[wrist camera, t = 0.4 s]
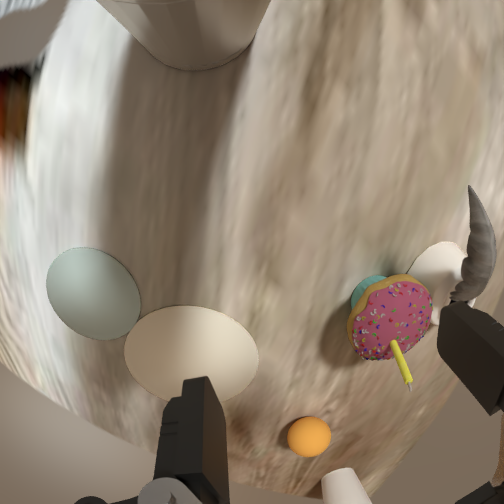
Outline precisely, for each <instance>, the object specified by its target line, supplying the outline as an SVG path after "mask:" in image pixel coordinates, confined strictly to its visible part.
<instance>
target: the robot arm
mask: <svg viewBox="0 0 504 504" xmlns="http://www.w3.org/2000/svg"><path fill="white" fill-rule="evenodd" d="M96 1H97V2H98V3H100V4H101V5H102V6H103V7H104V8H105V9H106V10H107V11H108V12H109V13H110V14H111V15H112V16H113V17H114V18H115V19H116V20H117V21H118V22H119V23H120V24H122V25H123V26H124V27H125V28H126V29H127V30H128V31H129V32H130V33H131V34H132V35H133V36H134V37H135V38H136V39H137V40H138V41H139V43H141V44H142V45H143V46H144V47H145V48H146V49H147V50H148V51H149V52H150V53H151V54H152V55H153V56H154V57H155V58H156V59H158V60H159V61H161V62H162V63H164V64H166V65H168V66H171V67H174V68H177V69H183V70H205V69H210V68H215V67H217V66H220V65H223V64H226V63H227V62H229V61H231V60H232V59H234V58H236V57H237V56H238V55H239V54H241V53H242V52H243V51H244V50H245V49H246V48H247V47H248V45H249V44H250V43H251V41H252V40H253V38H254V36H255V33H256V31H257V29H258V27H259V25H260V23H261V21H262V19H263V16H264V14H265V12H266V10H267V8H268V5H269V3H270V1H271V0H96ZM437 349H438V352H439V354H440V356H441V358H442V359H443V360H444V361H445V363H446V364H447V365H448V366H449V367H450V368H451V369H452V371H453V372H454V373H455V374H456V375H457V376H458V378H459V379H460V380H461V381H462V382H463V384H464V385H465V386H466V387H467V388H468V389H469V391H470V392H471V393H472V394H473V396H474V397H475V398H476V399H477V400H478V402H479V403H480V404H481V405H482V407H483V408H484V409H485V410H486V412H487V413H488V414H489V415H490V416H491V415H492V414H494V413H496V412H497V411H498V410H500V409H501V410H502V411H503V412H504V327H503V326H502V325H501V324H500V323H497V321H496V320H495V319H493V318H492V317H491V316H490V315H489V314H487V313H485V312H482V311H480V310H477V309H473V308H471V307H470V306H469V305H468V304H466V303H465V302H464V301H462V300H459V301H456V302H454V303H452V304H449V305H447V306H444V307H443V308H442V309H441V311H440V320H439V329H438V337H437ZM75 504H108V503H106V502H105V501H104V500H102V499H101V498H98V497H94V496H89V497H84V498H81V499H80V500H78V501H77V502H76V503H75ZM111 504H230V498H229V481H228V463H227V442H226V422H225V416H224V412H223V409H222V406H221V404H220V402H219V399H218V397H217V395H216V393H215V390H214V388H213V386H212V384H211V381H210V379H209V377H208V376H202V377H197V378H191V379H185V380H184V381H183V385H182V393H181V396H179V397H172V398H171V399H170V401H169V402H168V404H167V406H166V407H165V409H164V411H163V417H162V426H161V429H160V437H159V443H158V450H157V457H156V464H155V471H154V477H153V480H152V481H151V482H149V483H148V484H146V485H145V486H144V487H143V488H142V490H141V491H140V493H139V496H137V497H134V498H131V499H127V500H123V501H119V502H115V503H111ZM455 504H504V413H503V415H502V419H501V440H500V452H499V462H498V466H497V469H496V472H495V474H494V477H493V479H492V483H490V482H489V481H488V482H487V483H485V484H484V485H483V486H481V487H479V488H478V489H476V490H475V491H473V492H471V493H470V494H468V495H467V496H465V497H463V498H462V499H460V500H458V501H457V502H456V503H455Z"/></svg>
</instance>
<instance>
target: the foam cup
mask: <svg viewBox="0 0 504 504" xmlns="http://www.w3.org/2000/svg"><path fill="white" fill-rule="evenodd" d="M321 482H322V483H321V485H322V494H323V503H324V504H372V503H371V501H370V499H369V497H368V495H367V493H366V492H365V490H364V488H363V486H362V485H361V483H360V481H359V479H358V477H357V476H356V474H355V472H354V470H353V469H352V468H343V469H338V470H335V471H332V472H330V473H328V474H326V475H325V476H324V477H323V478H322V480H321Z"/></svg>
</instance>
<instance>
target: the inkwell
mask: <svg viewBox="0 0 504 504" xmlns="http://www.w3.org/2000/svg"><path fill="white" fill-rule="evenodd" d="M468 194H469V206H470V230H471V232H470V235H469V239H468V244H467V254H468V256H467V255H466V254H465V252H464V251H463V250H462V249H461V248H460V247H459V246H458V245H457V244H455V243H454V242H439V243H437V244H435V245H432V246H430V247H428V248H427V249H426V250H425V251H424V252H423V253H422V254H420V255H419V256H418V257H417V258H416V260H415V261H414V263H413V265H412V266H411V268H410V269H409V271H408V272H407V274H409V275H411V276H412V277H414V278H415V279H416V280H418V281H419V282H421V283H422V284H423V285H424V286H425V287H426V288H427V289H428V291H429V293H430V294H431V295H430V297H431V298H432V302H433V304H432V306H433V311H432V315H431V320H430V321H431V322H430V323H432V324H434V325H437V326H439V320H440V311H441V309H442V308H443V307H444V306H447V305H449V304H452V303H454V302H456V301H459V300H462V301H464V302H465V303H466V304H468V305H469V306H470V307H471V308H472V306H473V305H474V302H475V300H476V297H477V296H479V295H480V294H481V293H482V292H483V291H484V289H485V287H486V285H487V283H488V281H489V279H490V277H491V275H492V272H493V270H494V266H495V262H496V240H495V235H494V231H493V228H492V225H491V223H490V220H489V218H488V215H487V213H486V211H485V209H484V207H483V205H482V203H481V202H480V200H479V198H478V196H477V195H476V193H475V192H474V190H473V189H472V188H471V186H470V185H468Z"/></svg>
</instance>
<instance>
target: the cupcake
mask: <svg viewBox="0 0 504 504" xmlns="http://www.w3.org/2000/svg"><path fill="white" fill-rule="evenodd" d="M430 295H431V294H430V293H429V291H428V289H427V288H426V287H425V286H424V285H423V284H422V283H421V282H419V281H418V280H416V279H415V278H414V277H412V276H411V275H409V274H398V275H393V276H390V277H385V276H381V275H376V276H371V277H369V278H367V279H365V280H363V281H362V282H361V283H360V284H359V285H358V286H357V287H356V289H355V290H354V292H353V294H352V298H351V307H352V311H351V313H350V315H349V318H348V321H347V332H348V338H349V341H350V342H351V344H352V346H353V348H354V349H355V351H356V352H357V353H358V354H359V355H360V356H362V359H364V357H365V358H366V359H367V360H368V359H369V360H372V361H373V360H378V361H379V360H381V361H382V360H384V359H387V360H389V359H390V358H391V359H392V358H394V357H395V359H396V361H397V364H398V366H399V369H400V371H401V374H402V377H403V379H404V382H405V384H408V387H409V391H410V392H411V391H412V387H411V384H410V383H412V381H413V379H412V376H411V374H410V372H409V369H408V367H407V364H406V362H405V360H404V357H403V355H402V354H405V353H406V352H407V351H409V350H410V349H411V348H412V347H413V346H414V345H415V344H416V343H417V342H418V341H420V338H422V337H424V334H425V332H426V330H427V328H428V327H429V326H430V322H431V321H430V320H431V315H432V311H433V306H432V304H433V302H432V298H431V297H430Z"/></svg>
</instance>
